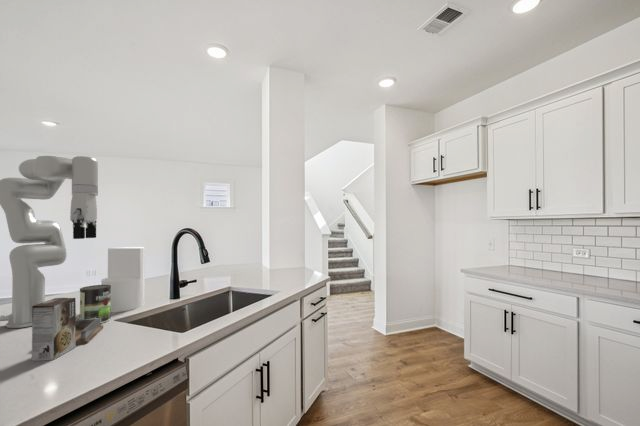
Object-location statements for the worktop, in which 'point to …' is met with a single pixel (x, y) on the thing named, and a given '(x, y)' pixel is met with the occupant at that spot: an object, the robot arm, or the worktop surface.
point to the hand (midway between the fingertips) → (85, 238)
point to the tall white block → (126, 277)
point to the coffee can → (95, 302)
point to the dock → (87, 329)
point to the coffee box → (53, 328)
